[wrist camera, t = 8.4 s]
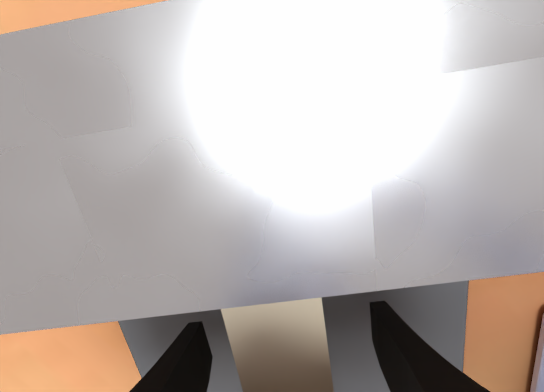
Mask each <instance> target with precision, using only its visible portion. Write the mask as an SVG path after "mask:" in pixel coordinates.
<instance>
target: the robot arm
mask: <svg viewBox="0 0 544 392" xmlns="http://www.w3.org/2000/svg"><path fill="white" fill-rule="evenodd" d="M370 316H371V331H372V342H373V345H374V349H375V352H376V355H377V359H378V362H379V365H380V368H381V370H382V373H383V375H384V378H385V380H386V382H387V385H388V387H389V390H390V392H490V391H488V390H487V389H485V388H484V387H482V386H481V385H479V384H478V383H476V382H475V381H474V380H472V379H471V378H469V377H468V376H467V375H465V374H464V373H463V372H461V371H460V370H459V369H457V368H456V367H455V366H453V365H452V364H451V363H450V362H448V361H447V360H446V359H445V358H444V357H442V356H441V355H440V354H439V353H438V352H437V351H435V350H434V349H433V348H432V347H431V346H430V345H429V344H427V343H426V342H425V341H424V340H423V339H422V338H421V337H420V336H419V335H418V334H417V333H416V332H415V331H414V330H413V329H412V328H411V327H410V326H409V325H408V324H407V323H406V322H405V321H404V320H403V319H402V318H401V317H400V316H399V315H398V314H397V313H396V312H395V311H394V310H393V309H392V307H391V306H390V305H389V304H388V303H387V302H386V301H376V302H370ZM212 359H213V356H212V353H211V349H210V346H209V343H208V339H207V336H206V333H205V329H204V326H203V323H202V321H199V322H190V323H188V324H187V325H186V326H185V328H184V329H183V330H182V331H181V333H180V334H179V335H178V336H177V338H176V339H175V340H174V341H173V343H172V344H171V345H170V346H169V348H168V349H167V350H166V351H165V352H164V354H163V355H162V356H161V357H160V358H159V360H158V361H157V362H156V363H155V364H154V365H153V367H152V368H151V369H150V370H149V371H148V372H147V373H146V374H145V376H144V377H143V378H142V379H141V380H140V381H139V382H138V383H137V384H136V385H135V386H134V387H133V389H132V390H131V391H130V392H207V388H208V384H209V379H210V373H211V366H212ZM530 392H544V314H543V318H542V324H541V330H540V336H539V342H538V348H537V354H536V360H535V365H534V371H533V377H532V383H531V389H530Z"/></svg>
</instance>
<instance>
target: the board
mask: <svg viewBox="0 0 544 392" xmlns="http://www.w3.org/2000/svg"><path fill="white" fill-rule="evenodd" d="M468 282H469V280H468V281H459V282H450V283H442V284H433V285H424V286H416V287H407V288H398V289H390V290H381V291H373V292H364V293H355V294H347V295H338V296H329V297H321V298H322V306H323V313H324V321H325V329H326V336H327V344H328V352H329V359H330V367H331V374H332V382H333V390H334V392H390V390H389V387H388V385H387V382H386V380H385V378H384V375H383V373H382V370H381V368H380V365H379V362H378V359H377V355H376V352H375V349H374V345H373V342H372V331H371V316H370V302H376V301H386V302H387V303H388V304H389V305H390V306H391V307H392V309H393V310H394V311H395V312H396V313H397V314H398V315H399V316H400V317H401V318H402V319H403V320H404V321H405V322H406V323H407V324H408V325H409V326H410V327H411V328H412V329H413V330H414V331H415V332H416V333H417V334H418V335H419V336H420V337H421V338H422V339H423V340H424V341H425V342H426V343H427V344H429V345H430V346H431V347H432V348H433V349H434V350H435V351H437V352H438V353H439V354H440V355H441V356H442V357H444V358H445V359H446V360H447V361H448V362H450V363H451V364H452V365H453V366H455V367H456V368H457V369H459V370H460V371H461V372H463V360H464V344H465V329H466V313H467V297H468ZM199 321H202V323H203V326H204V329H205V333H206V336H207V339H208V343H209V346H210V349H211V353H212V356H213V359H212V366H211V373H210V379H209V384H208V388H207V392H243V390H242V386H241V382H240V379H239V375H238V371H237V368H236V364H235V360H234V357H233V353H232V349H231V345H230V342H229V338H228V334H227V331H226V327H225V323H224V319H223V316H222V312H221V309H217V310H208V311H200V312H191V313H182V314H174V315H165V316H156V317H148V318H139V319H131V320H122V321H118V322H119V325H120V327H121V330H122V332H123V334H124V337H125V339H126V342H127V344H128V346H129V349H130V351H131V354H132V356H133V358H134V361H135V363H136V366H137V368H138V370H139V373H140V375H141V378H143V377H144V376H145V374H146V373H147V372H148V371H149V370H150V369H151V368H152V367H153V365H154V364H155V363H156V362H157V361H158V360H159V358H160V357H161V356H162V355H163V354H164V352H165V351H166V350H167V349H168V348H169V346H170V345H171V344H172V343H173V341H174V340H175V339H176V338H177V336H178V335H179V334H180V333H181V331H182V330H183V329H184V328H185V326H186V325H187V324H188V323H190V322H199Z"/></svg>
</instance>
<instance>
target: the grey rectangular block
mask: <svg viewBox="0 0 544 392" xmlns="http://www.w3.org/2000/svg"><path fill="white" fill-rule="evenodd" d="M537 272H544V0H168V1H163V2H158V3H153V4H148V5H143V6H138V7H133V8H128V9H124V10H119V11H114V12H109V13H104V14H99V15H94V16H89V17H84V18H79V19H74V20H69V21H65V22H60V23H55V24H50V25H45V26H40V27H35V28H30V29H25V30H20V31H15V32H10V33H5V34H1V35H0V335H1V334H10V333H18V332H27V331H35V330H44V329H53V328H61V327H70V326H79V325H87V324H96V323H105V322H113V321H122V320H131V319H139V318H148V317H156V316H165V315H174V314H182V313H191V312H200V311H208V310H217V309H226V308H234V307H243V306H252V305H260V304H269V303H277V302H286V301H295V300H303V299H312V298H321V297H329V296H338V295H347V294H355V293H364V292H373V291H381V290H390V289H398V288H407V287H416V286H424V285H433V284H442V283H450V282H459V281H468V280H476V279H485V278H494V277H502V276H511V275H519V274H528V273H537Z"/></svg>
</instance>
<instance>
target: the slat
mask: <svg viewBox="0 0 544 392" xmlns="http://www.w3.org/2000/svg"><path fill="white" fill-rule="evenodd" d="M221 312H222V316H223V319H224V323H225V327H226V331H227V334H228V338H229V342H230V345H231V349H232V353H233V357H234V360H235V364H236V368H237V371H238V375H239V379H240V382H241V386H242V390H243V392H334V390H333V382H332V374H331V367H330V359H329V352H328V344H327V336H326V329H325V321H324V313H323V306H322V298H312V299H303V300H295V301H286V302H277V303H269V304H260V305H252V306H243V307H234V308H226V309H221Z"/></svg>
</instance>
